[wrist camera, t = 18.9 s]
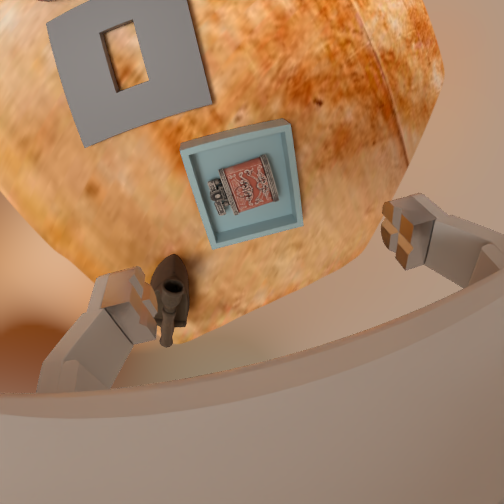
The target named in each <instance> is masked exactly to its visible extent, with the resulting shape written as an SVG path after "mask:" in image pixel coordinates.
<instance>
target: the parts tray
mask: <svg viewBox="0 0 504 504" xmlns="http://www.w3.org/2000/svg"><path fill="white" fill-rule="evenodd" d="M180 153H181V157H182V160H183V163H184V166H185V169H186V172H187V176H188V179H189V182H190V185H191V188H192V191H193V194H194V197H195V200H196V203H197V206H198V209H199V212H200V215H201V218H202V221H203V224H204V227H205V230H206V233H207V236H208V239H209V242H210V244H211V247H212V250H213V249H217V248H221V247H225V246H228V245H232V244H236V243H240V242H243V241H247V240H251V239H255V238H259V237H262V236H266V235H270V234H274V233H278V232H282V231H286V230H289V229H293V228H297V227H301V226H303V216H302V207H301V198H300V190H299V182H298V174H297V166H296V158H295V151H294V144H293V137H292V130H291V124H290V123H288V122H287V121H286V120H284V119H283V118H282V119H277V120H272V121H267V122H262V123H257V124H253V125H248V126H244V127H240V128H235V129H231V130H227V131H223V132H219V133H215V134H211V135H208V136H204V137H200V138H197V139H193V140H190V141H186V142H183V143H181V146H180ZM264 154H265V155H266V157H267V159H268V162H269V165H270V168H271V171H272V175H273V178H274V182H275V185H276V189H277V193H278V197H279V201H277V202H270V203H267V204H264V205H261V206H258V207H255V208H252V209H249V210H246V211H243V212H240V213H239V214H238V215H235V216H234V213H233V211H232V208H231V206H230V205H229V206H224V208H225V211H226V214H225V215H222V216H220V215H218V212H217V210H216V207H215V205H214V202H215V201H212V200H211V199H210V189H209V186H208V183H207V182H208V181H210V180H215V179H220V175H219V172H218V170H219V169H222V168H223V169H225V168H228V167H231V166H234V165H237V164H240V163H243V162H246V161H249V160H252V159H255V158H258V157H259V156H261V155H264ZM220 184H221V183H220ZM217 186H219V184H218V185H216V187H217ZM224 201H225V200H222V203H223V202H224ZM226 201H227V200H226Z"/></svg>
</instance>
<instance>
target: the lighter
mask: <svg viewBox="0 0 504 504" xmlns="http://www.w3.org/2000/svg"><path fill="white" fill-rule="evenodd" d="M218 172H219V175H220V179H215V180H210V181H208V182H207V183H208V186H209V189H210V199H211V200H212V201H215V202H214V205H215V207H216V210H217V212H218V215H220V216H222V215H225V214H226V211H225V208H224V206H229V205H230V206H231V208H232V211H233V213H234V216H235V215H238V214H239V213H240V212H243V211H246V210H249V209H252V208H255V207H258V206H261V205H264V204H267V203H270V202H277V201H279V197H278V193H277V189H276V185H275V182H274V178H273V175H272V171H271V168H270V165H269V162H268V159H267V157H266V155H265V154H264V155H261V156H259V157H258V158H255V159H252V160H249V161H246V162H243V163H240V164H237V165H234V166H231V167H228V168H225V169H223V168H222V169H219V170H218ZM220 183H221V184H220ZM218 184H219V186H217V187H216V185H218ZM222 200H225V201H224V202H223V203H222ZM226 200H227V201H226Z"/></svg>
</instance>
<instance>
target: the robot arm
mask: <svg viewBox="0 0 504 504" xmlns="http://www.w3.org/2000/svg"><path fill="white" fill-rule="evenodd" d="M382 213H383V215H384V216H385V219H384V221H383V222H382V224H381V235H382V239H383V242H384V244H385V245H386V247H387V248H388V249H389V250H390V251H393V252H395V253H396V257H395V258H396V259H397V261H398V262H399V263H400V264H401V266H402V267H403V268H404V269H405V270H409V269H412V268H415V267H418V266H421V265H424V264H425V266H427V267H429V268H430V269H432V270H434V271H436V272H437V273H439V274H441V275H442V276H444V277H446V278H447V279H449V280H451V281H452V282H454V283H456V284H457V285H459V286H461V287H462V288H464V289H462V290H460V291H458V292H456V293H454V294H451V295H449V296H447V297H445V298H443V299H441V300H439V301H436V302H434V303H432V304H430V305H427V306H425V307H423V308H420V309H418V310H416V311H413V312H411V313H409V314H406V315H403V316H401V317H399V318H396V319H394V320H391V321H388V322H386V323H383V324H381V325H378V326H376V327H373V328H370V329H367V330H364V331H362V332H359V333H356V334H353V335H350V336H348V337H344V338H341V339H339V340H335V341H332V342H329V343H326V344H323V345H320V346H317V347H314V348H310V349H307V350H303V351H300V352H296V353H293V354H289V355H286V356H282V357H278V358H275V359H271V360H267V361H263V362H260V363H256V364H251V365H247V366H243V367H239V368H235V369H230V370H225V371H221V372H216V373H211V374H206V375H201V376H196V377H190V378H185V379H179V380H173V381H167V382H161V383H154V384H148V385H140V386H132V387H124V388H115V389H110V388H111V386H112V384H113V382H114V381H115V379H116V377H117V375H118V373H119V371H120V369H121V368H122V366H123V364H124V362H125V360H126V359H127V356H128V355H129V353H130V351H131V350H132V348H133V345H134V344H138V343H143V342H147V341H151V340H155V339H156V331H157V323H156V321H155V319H154V317H155V315H156V314H157V311H158V304H157V299H156V295H155V292H154V290H153V288H152V286H151V285H150V284H148V283H146V282H144V281H145V274H144V272H143V271H142V269H141V268H140V267H138V266H136V267H132V268H128V269H124V270H120V271H116V272H113V273H109V274H105V275H102V276H99V277H98V278H96V282H95V285H94V288H93V291H92V295H91V299H90V302H89V306H88V309H87V312H86V313H83V314H82V315H81V316H80V317H79V319H78V320H77V321H76V322H75V323H74V325H73V326H72V327H71V328H70V329H69V330H68V332H67V333H66V334H65V336H64V337H63V338H62V339H61V340H60V341H59V343H58V344H57V345H56V346H55V348H54V349H53V350H52V351H51V353H50V354H49V355H48V357H47V358H46V359H45V360H44V362H43V364H42V368H41V372H40V376H39V381H38V385H37V390H36V393H0V504H504V235H503V234H501V233H499V232H496V231H494V230H491V229H488V228H486V227H483V226H481V225H478V224H475V223H473V222H470V221H468V220H465V219H462V218H459V217H456V216H453V215H447V214H446V213H445V212H444V211H443V210H442V209H441V208H439V207H438V206H437V205H436V204H435V203H433V202H432V201H431V200H430V199H429V198H427V197H426V196H425V195H424V194H422V193H417V194H414V195H410V196H407V197H403V198H400V199H396V200H392V201H388V202H385V203H384V205H383V210H382Z"/></svg>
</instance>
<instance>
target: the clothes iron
mask: <svg viewBox="0 0 504 504" xmlns="http://www.w3.org/2000/svg"><path fill="white" fill-rule="evenodd" d="M150 285H151V286H152V288H153V290H154V292H155V295H156V299H157V304H158V311H157V314H156V315H155V317H154V319H155V321H156V323H157V325H158V326H160V327H161V338H160V344H161V345H162V346H164V347H170V346H171V345H172V344H173V340H172V335H173V332H174V327H185V326H186V321H187V315H188V311H189V283H188V274H187V270H186V268H185V265H184V264H183V262H182V260H181V259H180V258H179V257H178V256H177V255H170V256H168V257H167V258H165V259H164V260H163V261H162V262H161V263H160V264H159V265H158V267H157V268H156V270H155V272H154V274H153V276H152V279H151V283H150Z"/></svg>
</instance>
